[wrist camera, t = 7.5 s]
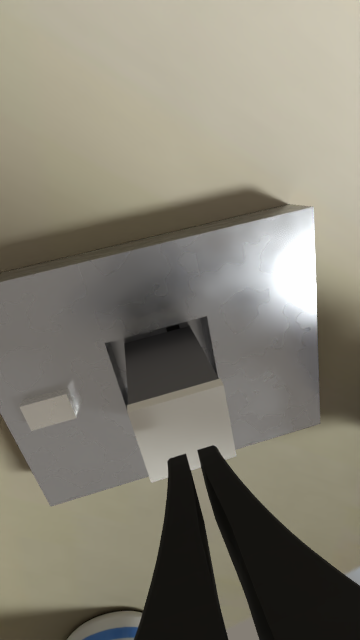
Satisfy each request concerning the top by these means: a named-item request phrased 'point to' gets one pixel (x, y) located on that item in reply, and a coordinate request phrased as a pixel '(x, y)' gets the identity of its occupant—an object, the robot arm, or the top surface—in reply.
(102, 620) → the supplement tub
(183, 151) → the top surface
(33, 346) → the socket plate
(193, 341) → the plug
